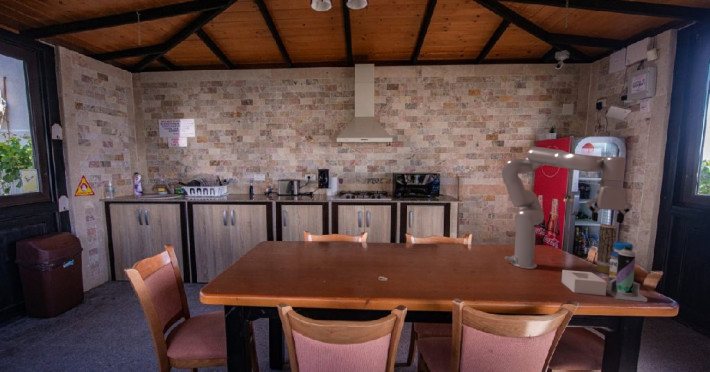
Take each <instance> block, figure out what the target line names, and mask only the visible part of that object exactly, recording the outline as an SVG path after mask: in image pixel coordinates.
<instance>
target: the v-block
mask: <svg viewBox="0 0 710 372" xmlns="http://www.w3.org/2000/svg"><path fill="white" fill-rule="evenodd" d="M606 294H608V295H610V296H611V297H613V298H614V299H615V300H623V301H624V300H626V301H633V302H634V301H635V302H645V303H648V297H645V296H644V295H643V294H641V293H640V283H637V282H634V281H633V293H632V295H627V294H622V293H619V292H617V291H616V278H615V279H613V280H611V281H608V285H606Z"/></svg>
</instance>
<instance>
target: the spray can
mask: <svg viewBox="0 0 710 372" xmlns="http://www.w3.org/2000/svg"><path fill="white" fill-rule="evenodd" d="M635 265H636V252H634V251H633V249H632V250H631V249H630V247H628V246H625V248H624V249H623V250H620V251H619V252H618V264H617V277H616V291H617V292H619V293H622V294H627V295H632V293H633V282H634V280H635V269H636V266H635Z"/></svg>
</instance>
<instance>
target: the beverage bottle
mask: <svg viewBox="0 0 710 372" xmlns="http://www.w3.org/2000/svg"><path fill="white" fill-rule="evenodd" d="M625 246H628V247H630V249H631V250H632V251H633V247H634V245H633V244H632V243H629V242H625V241H616V242H614V244H613V249H615V250H614V251H613V252H612V253H611V255H610V256H611V259H610V273H609V274H608V275H609V276H608V280H607V281H608V282H609V281H611V280H613V279H615V278H616V277H617V264H618V252H619V251H620V250H623V249H624V248H625Z"/></svg>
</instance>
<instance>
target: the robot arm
mask: <svg viewBox="0 0 710 372" xmlns="http://www.w3.org/2000/svg"><path fill="white" fill-rule="evenodd" d="M543 165H545V166H549V167H550V166H552V167H556V168H562V169H568V170H573V171H579V172H584V173H599V172H600V173H601V177H600V180H598V181H597V182H596V183H597V185H599V186H598V187H597V190H596V193H595V197H594V199H591V200H588V201H587V202H586V203H585V204H586V205H587V208H588V209H589V210H590V212H591V217H590V218H591V221H593V222H597V223H598V220H599V219H598V218H599V211H601V210H606V211H617V212H618V213H617V214H616V222H617V224H618V223H619V224H623V222H624V220H625V219H624V218H625V216H626V215H627V213H628V212H630V210H631V209H632V207H634V206H633V204H631V203H629V202H627V201H626V200H627V199H626V195H627V194H626V189H625V187H624V178H625V177H624V176H625V171H626V157H624V156H614V155H613V156H601V155H600V156H599V155H590V154H589V155H588V154H581V153H574V152H567V151H565V150H563V149H554V148H549V147H548V148H547V147H542V146H541V147H539V146H534V147H531V148H530V149H529V150H528V151H527V153H526V157H524V158H512V159H509V160H507V161H506V162H505V163H504V164H503V167H502V168H501V177H502V179H503V182H504V184H505V187H506V191H507V193H508V195H509V198H510V202H511V205H513V206H514V207H516V208H522V209H519V210H518V211H517V212H516V214H515V215H514V223H515V234H514V235H515V238H514V239H515V240H514V241H515V242H514V254H512V255H511V256H506V255H505V256H504V260H506V261H509V262H510V264H511V265H512V266H514V267H517V268H520V269H528V270H529V269H531V270H533V269H536V268H537V267H538V266H537V265H538V264H536V263H535V250H536V249H535V246H536V229H535V226H536V225H540V224H541V223H543V221H544V219H545V215H544V210H543V209H542V206H541V204H540V200H539V199H538V196H537V194H536V193H535V192H533V191H532V190H529V189H526V188H525V186H524V183H523V181H522V179H521V178H520V177H519V174H520V175H521V174H522V175H523V174H525V175H526V174H528V173H531V172H533V171H535V170H537V169H539V168H540V167H543ZM592 204H593V205H594V207H593V205H592Z"/></svg>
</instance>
